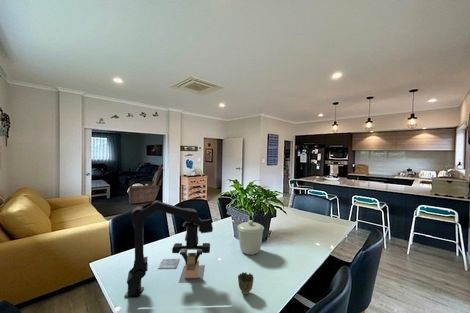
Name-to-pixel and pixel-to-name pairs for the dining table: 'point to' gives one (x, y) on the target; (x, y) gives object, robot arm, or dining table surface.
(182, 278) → the rubber mat
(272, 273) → the dining table surface
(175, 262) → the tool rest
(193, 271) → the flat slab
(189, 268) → the walnut block
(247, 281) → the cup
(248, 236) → the canister
